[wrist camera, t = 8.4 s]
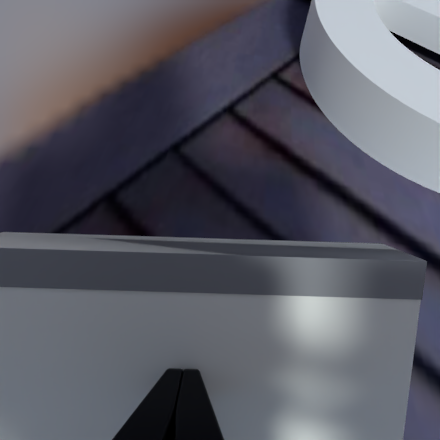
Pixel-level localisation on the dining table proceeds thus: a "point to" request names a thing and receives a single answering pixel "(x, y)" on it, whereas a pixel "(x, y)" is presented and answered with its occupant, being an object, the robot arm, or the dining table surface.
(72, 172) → the dining table surface
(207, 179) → the dining table surface
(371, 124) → the ring with crossbar
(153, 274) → the white square slab
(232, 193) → the dining table surface
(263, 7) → the dining table surface
